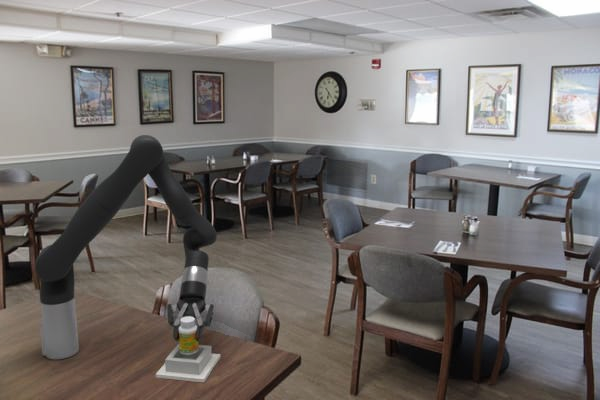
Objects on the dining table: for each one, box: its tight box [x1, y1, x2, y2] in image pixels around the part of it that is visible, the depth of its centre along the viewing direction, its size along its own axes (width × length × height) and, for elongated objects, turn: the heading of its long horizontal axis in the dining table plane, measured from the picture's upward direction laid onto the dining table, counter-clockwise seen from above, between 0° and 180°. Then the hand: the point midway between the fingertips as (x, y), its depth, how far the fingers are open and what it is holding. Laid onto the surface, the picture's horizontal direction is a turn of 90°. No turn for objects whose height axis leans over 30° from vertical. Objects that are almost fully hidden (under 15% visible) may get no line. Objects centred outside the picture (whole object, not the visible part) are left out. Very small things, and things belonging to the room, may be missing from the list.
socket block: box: [155, 343, 221, 383], centre depth 146 cm, size 14×14×4 cm
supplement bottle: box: [178, 316, 199, 355], centre depth 145 cm, size 5×5×10 cm
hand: (187, 340), depth 143 cm, fingers closed on supplement bottle, 5 cm apart
